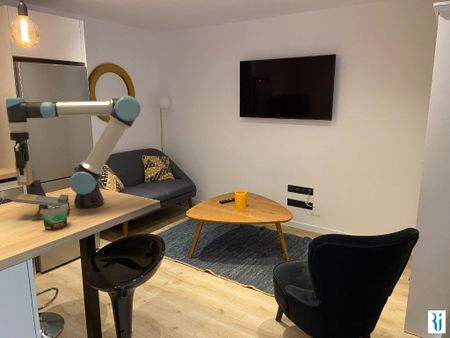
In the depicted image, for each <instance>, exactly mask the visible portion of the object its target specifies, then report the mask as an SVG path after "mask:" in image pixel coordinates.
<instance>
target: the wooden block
mask: <svg viewBox="0 0 450 338" xmlns="http://www.w3.org/2000/svg"><path fill="white" fill-rule="evenodd" d="M14 165H15V166H14V167H15V176H16V182H17V186H30V184H31V183H32V182H33V175H32V166H31V160H30V159H29V160H24V168H25V170H26V179H27V182H20V179H19V171H18V169H16V161H15V162H14Z"/></svg>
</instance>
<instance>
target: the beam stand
mask: <svg viewBox="0 0 450 338" xmlns="http://www.w3.org/2000/svg"><path fill="white" fill-rule="evenodd" d="M67 204H68V207H69V208H68V209H67V217H69V214H70V212H71V209H70V202H68V203H67ZM48 208H49V206H48V205H38V210H37V211H36V212H35V214H34V215H33V216H32V218H31V222H36V221H38V222H39V221H43V217H42V214H40V210H41V209H48Z"/></svg>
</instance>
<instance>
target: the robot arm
mask: <svg viewBox="0 0 450 338" xmlns="http://www.w3.org/2000/svg"><path fill="white" fill-rule="evenodd" d="M5 106H6V108H5V110H6V115H7V122H8V124H7V127H8V130H9V131H10V132H9V138H10V141H14V142H15V144H14V146H13V150H14V151H13V152H14V160H15V162H16V167H15V170H16V169H18V171H19V179H20V182H27V179H26V170H25V168H24V160H30V156H29V149H28V148H29V147H28V143H27V142H26V141H28V140H29V139H30V135H29V134H30V133H29V132H28V131H29V125H28V119H46V120H47V119H53V118H58V117H59V118H60V117H62V118H63V117H93V116H94V117H96V116H97V117H98V116H101V117H102V116H109V119H110V120H109V121H108V123H107V125H106V126H105V127H104V129H103V131H102V133H101V134H100V136H99V137H98V139H97V141H96V142H95V144H94V146H93V148H92V149H91V151H90V152H89V154H88V156H86V159H85V160H84V161H81V162H80V163H75V164H74V167H73V170H74V173H73V174H72V175H71V176H70V178H69V186H70V188H71V190H72V191H73V192H74V193H75V197H74V201H73V206H74V208H75V209H84V210H85V209H87V210H88V209H94V208H98V207H101V206H103V205H105V199H104V197H103V194H102V192H101V189H100V179H101V177H102V175H103V171H102V169H103V168H104V165H105V164H106V162H107V161H108V159H109V158H110V156H111V155H112V153H113V151H114V150H115V148H116V146H117V144H118V143H119V141H120V140H121V138H122V136H123V135H124V133H125V131H127V130H126V129H130V128H131V127H132V126H133V124H134V122H135V121H136V119H137V118H139V116H140V114H141V111H142V110H141V109H142V108H141V104H140V102H139V100H138V99H137V98H135V97H133V96H132V95H123V96H121V97H119V98H118V97H117V98H116V97H115V98H110V99H109V100H86V101H85V100H79V101H78V100H76V101H74V100H72V101H70V100H69V101H26V99H25V98H24V97H7V98H6V99H5Z"/></svg>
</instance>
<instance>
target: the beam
mask: <svg viewBox="0 0 450 338" xmlns="http://www.w3.org/2000/svg"><path fill="white" fill-rule="evenodd" d="M69 201H70V200H69V194H60V195H59V196H58V197H56V196H49V195H46V196H40V195H31V194H28V193H19V194H18V195H17V196H15V198H14V199H13V202H14V203H18V204H19V203H21V204H30V205H38V206H39V205H48V207H53V206H60V205H63V204H65V202H66V203H69Z"/></svg>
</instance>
